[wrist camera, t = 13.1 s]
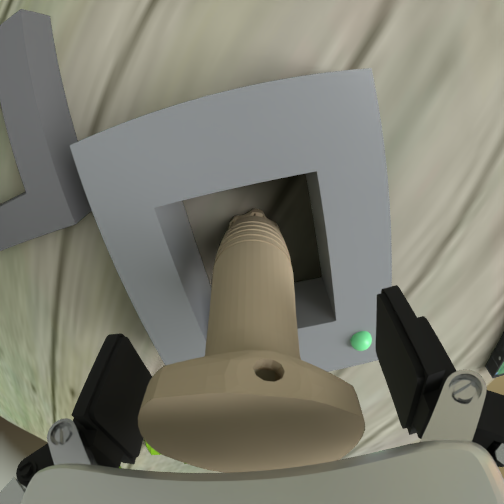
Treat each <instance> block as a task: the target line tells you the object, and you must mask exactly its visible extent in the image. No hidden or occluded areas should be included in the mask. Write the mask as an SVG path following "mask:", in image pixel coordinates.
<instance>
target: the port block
mask: <svg viewBox="0 0 504 504" xmlns="http://www.w3.org/2000/svg"><path fill="white" fill-rule="evenodd" d="M70 148H71V152H72V155H73V158H74V161H75V164H76V167H77V170H78V173H79V176H80V179H81V182H82V185H83V188H84V191H85V193H86V196H87V199H88V202H89V204H90V207H91V210H92V212H93V215H94V217H95V220H96V223H97V225H98V228H99V230H100V233H101V235H102V237H103V240H104V242H105V245H106V247H107V249H108V252H109V254H110V256H111V259H112V261H113V263H114V265H115V268H116V270H117V272H118V274H119V276H120V279H121V281H122V283H123V285H124V287H125V289H126V291H127V293H128V296H129V298H130V300H131V302H132V304H133V306H134V308H135V310H136V312H137V314H138V316H139V318H140V320H141V322H142V324H143V325H144V327H145V329H146V331H147V333H148V335H149V337H150V339H151V340H152V342H153V344H154V346H155V348H156V350H157V351H158V353H159V355H160V357H161V359H162V360H163V362H164V364H165V365H169V364H173V363H177V362H182V361H186V360H190V359H195V358H200V357H204V356H205V349H206V340H207V330H208V321H209V312H210V300H211V286H210V283H209V280H208V277H207V274H206V271H205V268H204V265H203V262H202V259H201V256H200V254H199V251H198V248H197V244H196V241H195V238H194V235H193V232H192V229H191V226H190V223H189V220H188V217H187V214H186V211H185V207H184V204H183V200H187V199H191V198H195V197H199V196H203V195H207V194H211V193H216V192H220V191H224V190H228V189H233V188H237V187H242V186H246V185H251V184H256V183H260V182H265V181H270V180H275V179H280V178H284V177H290V176H295V175H300V174H305V173H306V179H307V184H308V190H309V196H310V202H311V208H312V214H313V220H314V226H315V233H316V239H317V246H318V253H319V260H320V267H321V274H322V277H320V278H316V279H311V280H306V281H301V282H296V283H294V291H295V306H296V319H297V329H298V340H299V351H300V358H301V360H303V361H305V362H307V363H310V364H312V365H314V366H317V367H319V368H321V369H323V370H325V371H327V372H329V371H333V370H338V369H343V368H347V367H351V366H356V365H360V364H364V363H368V362H372V361H376V360H378V357H377V354H376V348H375V344H376V310H377V294H380V293H381V290H382V289H384V288H388V287H391V283H392V254H391V221H390V203H389V189H388V177H387V167H386V157H385V149H384V141H383V133H382V126H381V119H380V113H379V106H378V100H377V95H376V89H375V84H374V79H373V74H372V69H371V68H368V69H355V70H345V71H335V72H327V73H319V74H312V75H305V76H298V77H292V78H286V79H281V80H275V81H270V82H265V83H260V84H255V85H250V86H246V87H241V88H237V89H232V90H228V91H224V92H220V93H216V94H212V95H209V96H205V97H201V98H198V99H194V100H191V101H187V102H184V103H180V104H177V105H174V106H171V107H168V108H164V109H161V110H158V111H155V112H152V113H149V114H146V115H144V116H141V117H138V118H135V119H132V120H130V121H127V122H124V123H122V124H119V125H117V126H114V127H111V128H109V129H106V130H104V131H101V132H99V133H97V134H94V135H92V136H90V137H87V138H85V139H83V140H80V141H78V142H76V143H74V144H72V145H70Z"/></svg>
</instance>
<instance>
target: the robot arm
mask: <svg viewBox="0 0 504 504" xmlns="http://www.w3.org/2000/svg"><path fill="white" fill-rule="evenodd" d="M375 348H376V354H377V357H378V360H379V363H380V365H381V368H382V371H383V374H384V376H385V379H386V382H387V385H388V388H389V390H390V393H391V396H392V399H393V402H394V405H395V408H396V411H397V414H398V417H399V420H400V423H401V426H402V428H403V429H404V428H407V429H408V432H409V435H410V434H414V433H417V434H418V437H419V438H420V439H421V441H420V442H419V443H414V444H408V445H404V446H400V447H396V448H391V449H387V450H382V451H378V452H374V453H370V454H366V455H361V456H357V457H352V458H347V459H342V460H336V461H331V462H326V463H320V464H314V465H307V466H300V467H293V468H284V469H275V470H264V471H252V472H234V473H172V472H155V471H142V470H132V469H122V468H121V467H120V464H121V462H123V463H130V464H134V463H135V459H136V457H138V456H139V453H140V449H141V445H142V441H143V437H142V435H141V433H140V430H139V427H138V415H139V412H140V408H141V405H142V402H143V398H144V395H145V392H146V389H147V386H148V384H149V382H150V380H151V378H152V376H151V374H150V372H149V371H148V369H147V368H146V366H145V365H144V363H143V362H142V360H141V358H140V357H139V355H138V354H137V352H136V350H135V349H134V347H133V345H132V344H131V342H130V340H129V339H128V338H127V337H125V336H124V335H123V334H111V335H108V336H107V337H106V339H105V341H104V343H103V345H102V348H101V350H100V352H99V354H98V356H97V358H96V360H95V362H94V365H93V367H92V369H91V371H90V373H89V375H88V378H87V380H86V382H85V384H84V387H83V389H82V391H81V394H80V396H79V398H78V401H77V403H76V405H75V408H74V410H73V413H72V416H73V417H74V419H73V421H72V420H70V419H61V420H58V421H57V422H55V423H54V424H53V425H52V426H51V428H50V429H49V431H48V435H47V440H48V444H46V445H45V446H43V447H42V448H40V449H39V450H37V451H35V452H34V453H32V454H31V455H29V456H28V457H26V458H25V459H23V461H21V462H20V464H19V465H18V468H17V473H16V474H17V479H16V478H15V477H14V478H13V479H12V480H11V481H10V482H9V483H8V484H7V485H6V486H5V487H4V489H3V490H2V491H1V492H0V504H504V479H503V477H502V475H501V473H500V471H499V468H498V467H504V395H500V394H498V393H494V392H491V391H488V390H487V387H486V383H485V381H484V379H483V378H482V376H480V375H479V374H478V373H476V372H474V371H471V370H459V371H456V369H455V368H454V366H453V364H452V362H451V360H450V358H449V357H448V355H447V353H446V351H445V349H444V348H443V346H442V344H441V342H440V341H439V339H438V337H437V335H436V334H435V332H434V330H433V329H432V327H431V325H430V324H429V322H428V320H427V319H426V318H425V317H424V316H422V317H418V318H417V317H416V315H415V313H414V312H413V310H412V308H411V307H410V305H409V303H408V302H407V300H406V298H405V297H404V295H403V293H402V292H401V290H400V288H399V287H398V286H397V285H396V286H392V287H388V288H384V289H382V290H381V293H380V294H377V310H376V344H375Z"/></svg>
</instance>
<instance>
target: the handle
mask: <svg viewBox="0 0 504 504" xmlns="http://www.w3.org/2000/svg"><path fill="white" fill-rule="evenodd" d="M138 427H139V430H140V433H141V435H142V437H143V438H144V440H145V441H146V443H147V444H148V445H150V446H151V447H152V448H153V449H154V450H155V451H157V452H158V453H159V454H162V455H165V456H167V457H170V458H172V459H175V460H178V461H181V462H184V463H187V464H190V465H193V466H196V467H200V468H203V469H207V470H212V471H219V472H226V473H234V472H252V471H264V470H275V469H284V468H293V467H300V466H307V465H314V464H320V463H326V462H331V461H336V460H339V459H341V458H342V457H343V456H345V455H346V454H348V453H349V452H350V451H351V450H352V449H353V448H354V447H355V446H356V445H357V444H358V442H359V441H360V439H361V438H362V436H363V433H364V431H365V422H364V418H363V414H362V410H361V407H360V404H359V400H358V397H357V394H356V392H355V390H354V388H353V386H352V385H350V384H348V383H347V382H345V381H343V380H342V379H340V378H338V377H336V376H335V375H333V374H331V373H329V372H327V371H325V370H323V369H321V368H319V367H317V366H314V365H312V364H310V363H307V362H305V361H303V360H301V358H300V351H299V340H298V329H297V319H296V306H295V291H294V278H293V270H292V264H291V259H290V255H289V252H288V249H287V246H286V244H285V241H284V239H283V237H282V235H281V233H280V229H279V227H278V224H277V223H276V222H274V221H271V220H270V219H268V218H267V217H266V216H265V215H264V213H263V211H262V210H260V209H252V210H251V211H250V212H249V213H247V214H244V215H240V216H238V215H236V216H234V217H233V219H232V220H231V221H230V223H229V229H228V230H227V231H226V233H225V235H224V237H223V239H222V241H221V243H220V246H219V248H218V251H217V255H216V259H215V264H214V268H213V276H212V288H211V300H210V312H209V321H208V330H207V340H206V349H205V356H204V357H200V358H195V359H190V360H186V361H182V362H177V363H173V364H169V365H165V366H163V367H162V368H161V369H160V370H158V371H157V372H156V374H155V375H154V376H153V377H152V378H151V380H150V382H149V384H148V386H147V389H146V392H145V395H144V398H143V402H142V405H141V408H140V412H139V415H138Z"/></svg>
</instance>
